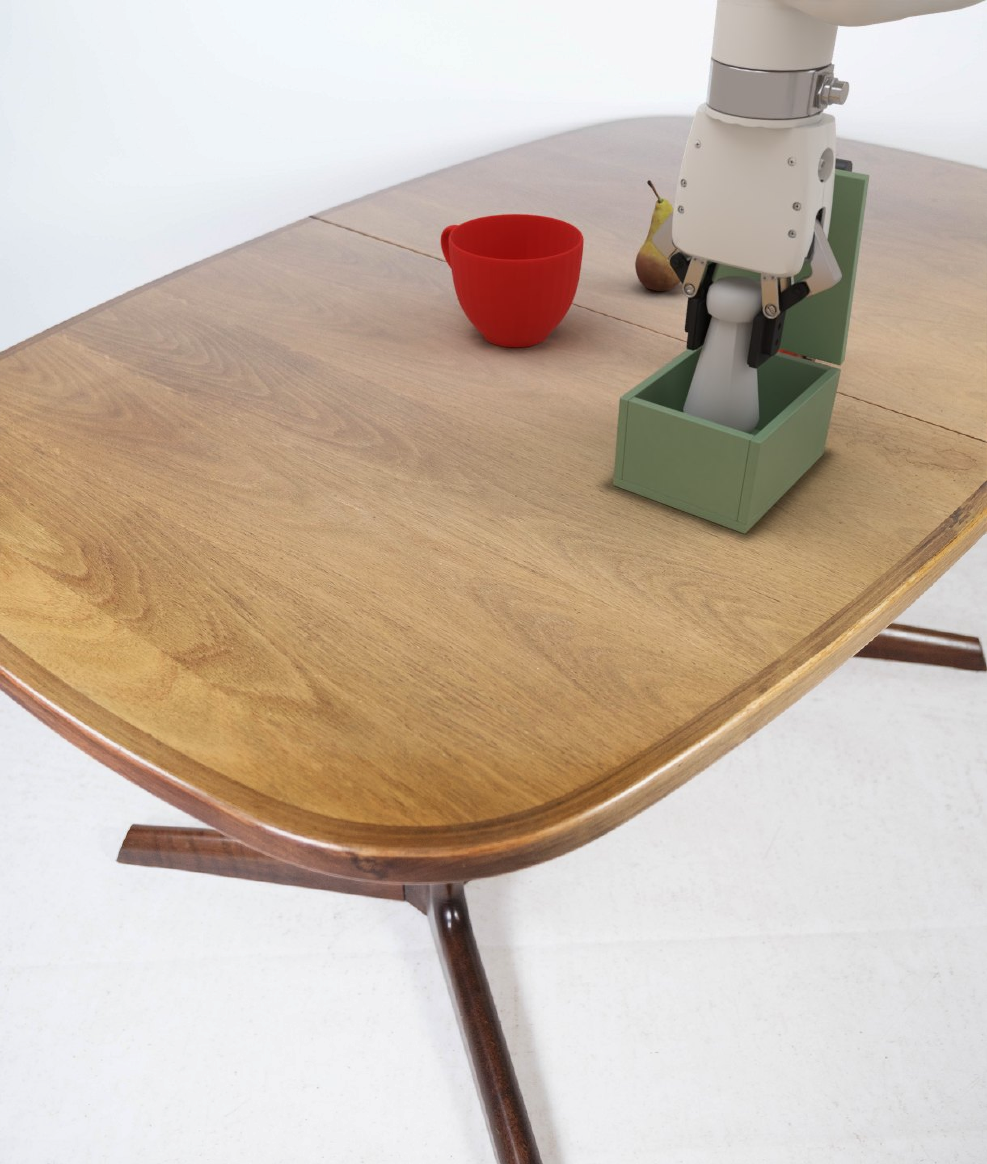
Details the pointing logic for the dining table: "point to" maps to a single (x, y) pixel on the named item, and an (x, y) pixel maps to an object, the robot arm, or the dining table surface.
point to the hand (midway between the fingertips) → (729, 350)
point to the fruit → (656, 253)
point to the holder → (723, 440)
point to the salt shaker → (728, 357)
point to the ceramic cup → (514, 274)
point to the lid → (826, 315)
